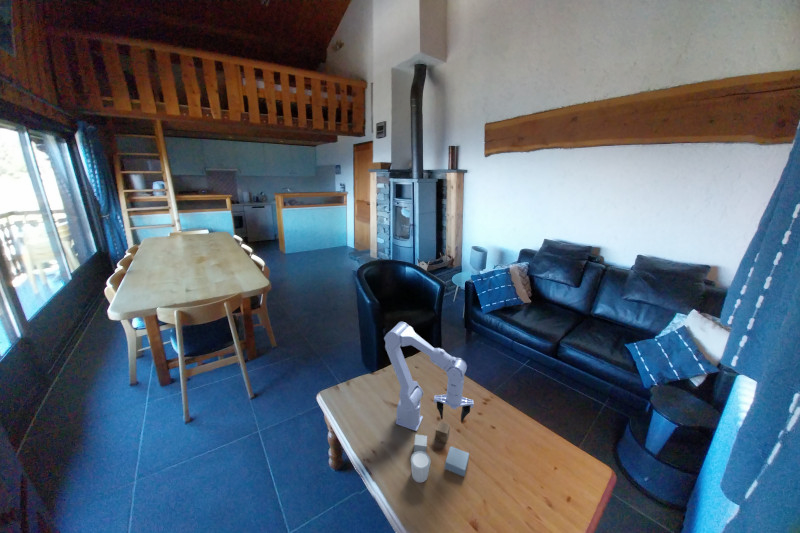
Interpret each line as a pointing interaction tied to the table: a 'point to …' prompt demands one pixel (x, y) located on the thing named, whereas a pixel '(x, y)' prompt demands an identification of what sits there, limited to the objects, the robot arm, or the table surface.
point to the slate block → (457, 461)
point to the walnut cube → (442, 432)
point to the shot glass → (420, 466)
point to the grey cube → (420, 443)
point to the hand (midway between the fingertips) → (451, 418)
